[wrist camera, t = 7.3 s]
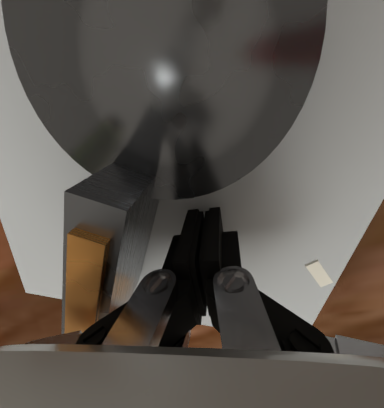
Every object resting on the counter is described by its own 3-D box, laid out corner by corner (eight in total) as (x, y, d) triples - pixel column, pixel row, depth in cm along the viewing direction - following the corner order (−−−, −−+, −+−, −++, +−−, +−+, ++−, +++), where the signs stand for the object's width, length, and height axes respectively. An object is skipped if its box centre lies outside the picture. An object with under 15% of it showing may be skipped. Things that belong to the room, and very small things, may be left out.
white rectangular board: (-174, -475, 5) (-322, -692, 4) (715, -511, 4) (978, -836, 3) (41, 277, 17) (24, 294, 16) (295, 322, 16) (302, 344, 14)
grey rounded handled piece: (57, -166, 6) (-554, -1164, 1) (355, -57, 6) (786, -557, 1) (57, 254, 13) (-34, 341, 8) (195, 297, 13) (181, 405, 9)
